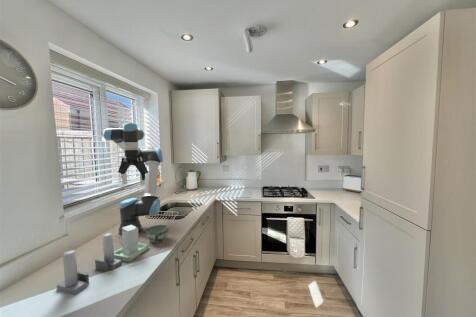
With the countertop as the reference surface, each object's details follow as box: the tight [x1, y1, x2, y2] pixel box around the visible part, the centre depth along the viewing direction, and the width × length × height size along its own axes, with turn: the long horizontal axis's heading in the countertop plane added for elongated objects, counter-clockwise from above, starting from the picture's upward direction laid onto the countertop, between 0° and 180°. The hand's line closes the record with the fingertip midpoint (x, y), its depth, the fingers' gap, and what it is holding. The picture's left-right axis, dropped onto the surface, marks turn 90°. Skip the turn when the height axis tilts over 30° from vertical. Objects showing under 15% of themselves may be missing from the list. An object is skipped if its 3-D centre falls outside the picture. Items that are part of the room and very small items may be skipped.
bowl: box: [145, 224, 169, 244], centre depth 131 cm, size 14×13×8 cm
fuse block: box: [56, 232, 123, 295], centre depth 97 cm, size 11×23×16 cm, turn 162°
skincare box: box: [121, 225, 139, 256], centre depth 116 cm, size 8×6×15 cm
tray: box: [114, 242, 149, 263], centre depth 116 cm, size 13×15×2 cm
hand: (133, 184), depth 121 cm, fingers open, 13 cm apart
